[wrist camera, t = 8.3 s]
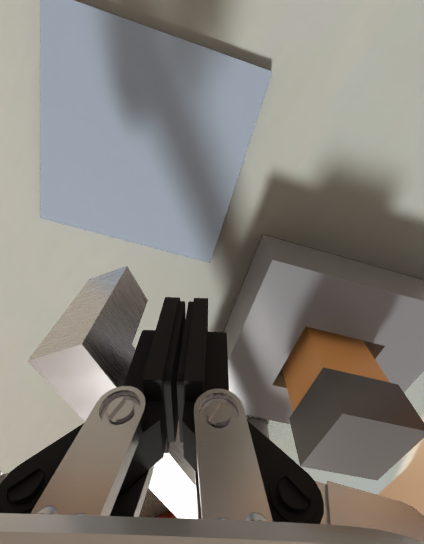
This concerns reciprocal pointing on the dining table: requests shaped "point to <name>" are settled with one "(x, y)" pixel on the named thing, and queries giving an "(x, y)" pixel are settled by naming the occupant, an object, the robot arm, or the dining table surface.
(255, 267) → the socket
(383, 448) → the plug
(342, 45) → the dining table surface
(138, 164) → the mat
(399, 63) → the dining table surface
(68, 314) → the silver bent bar
